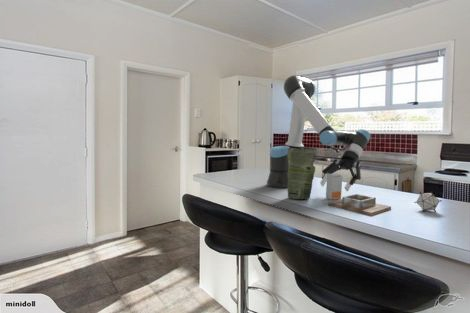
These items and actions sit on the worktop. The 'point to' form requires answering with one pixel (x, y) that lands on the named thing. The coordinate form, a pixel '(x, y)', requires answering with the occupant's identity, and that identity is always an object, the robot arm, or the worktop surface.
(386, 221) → the worktop surface
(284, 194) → the worktop surface
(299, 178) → the pouch
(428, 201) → the game die
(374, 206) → the walnut mount
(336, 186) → the skincare box
